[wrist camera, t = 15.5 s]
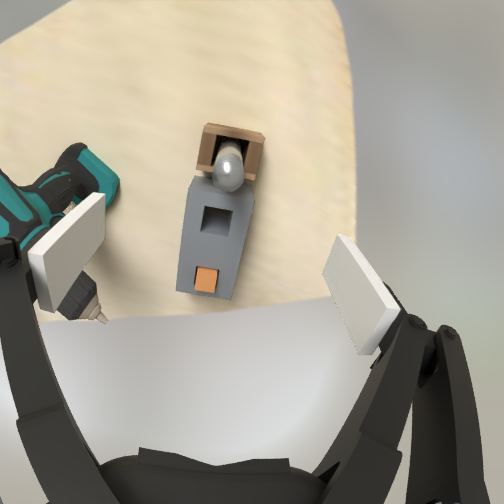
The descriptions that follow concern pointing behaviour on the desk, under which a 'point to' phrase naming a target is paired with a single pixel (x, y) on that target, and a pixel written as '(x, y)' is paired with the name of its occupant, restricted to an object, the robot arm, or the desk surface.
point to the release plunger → (206, 279)
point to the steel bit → (228, 166)
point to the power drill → (59, 214)
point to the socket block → (213, 235)
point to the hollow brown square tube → (253, 138)
